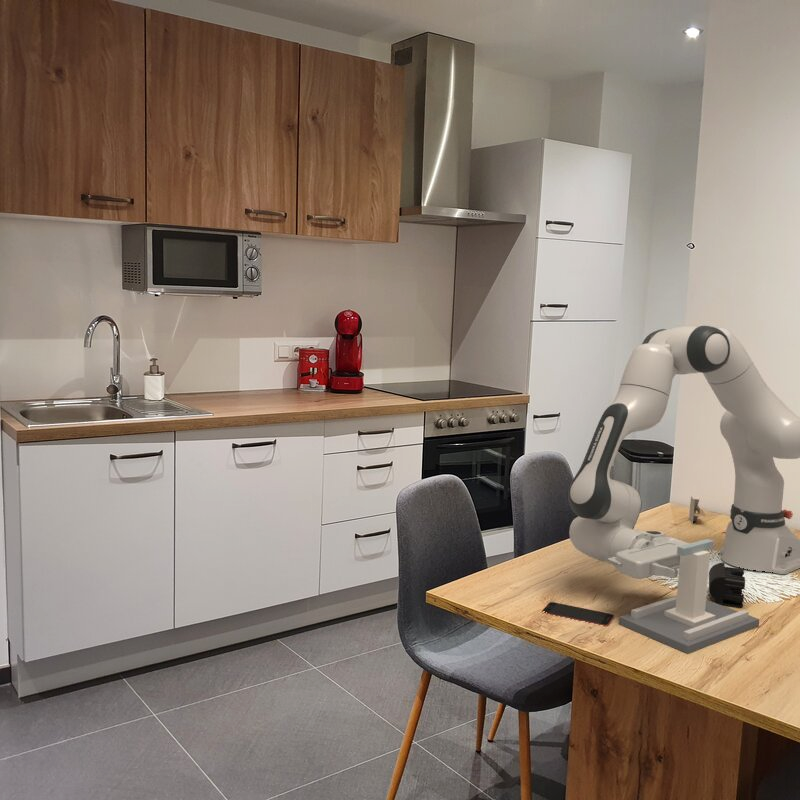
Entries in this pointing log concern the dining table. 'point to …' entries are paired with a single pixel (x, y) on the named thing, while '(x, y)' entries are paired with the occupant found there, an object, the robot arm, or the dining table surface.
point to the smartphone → (579, 613)
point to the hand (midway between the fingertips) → (690, 570)
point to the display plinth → (684, 636)
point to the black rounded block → (727, 585)
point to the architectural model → (693, 508)
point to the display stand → (692, 584)
